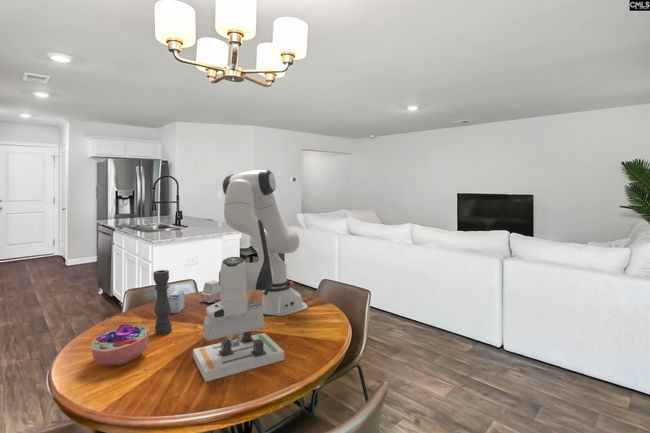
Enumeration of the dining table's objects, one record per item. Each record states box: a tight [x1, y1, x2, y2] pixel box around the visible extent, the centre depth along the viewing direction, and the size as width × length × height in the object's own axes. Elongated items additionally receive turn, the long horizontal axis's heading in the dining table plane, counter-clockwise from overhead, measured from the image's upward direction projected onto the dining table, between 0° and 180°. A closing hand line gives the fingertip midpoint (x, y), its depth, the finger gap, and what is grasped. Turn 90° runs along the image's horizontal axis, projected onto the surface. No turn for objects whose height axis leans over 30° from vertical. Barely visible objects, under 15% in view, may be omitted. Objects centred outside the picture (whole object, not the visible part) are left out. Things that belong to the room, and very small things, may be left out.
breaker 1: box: [241, 331, 254, 343], centre depth 127 cm, size 4×4×4 cm
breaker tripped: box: [219, 338, 234, 356], centre depth 117 cm, size 4×4×4 cm
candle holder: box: [152, 269, 173, 336], centre depth 141 cm, size 6×6×25 cm
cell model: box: [90, 323, 150, 367], centre depth 119 cm, size 17×20×11 cm
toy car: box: [200, 280, 221, 304], centre depth 184 cm, size 9×15×10 cm, turn 147°
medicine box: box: [168, 290, 185, 314], centre depth 168 cm, size 8×4×9 cm, turn 5°
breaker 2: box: [251, 339, 266, 357], centre depth 117 cm, size 4×4×4 cm
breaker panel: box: [192, 332, 285, 383], centre depth 120 cm, size 26×18×3 cm
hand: (235, 346), depth 119 cm, fingers closed
